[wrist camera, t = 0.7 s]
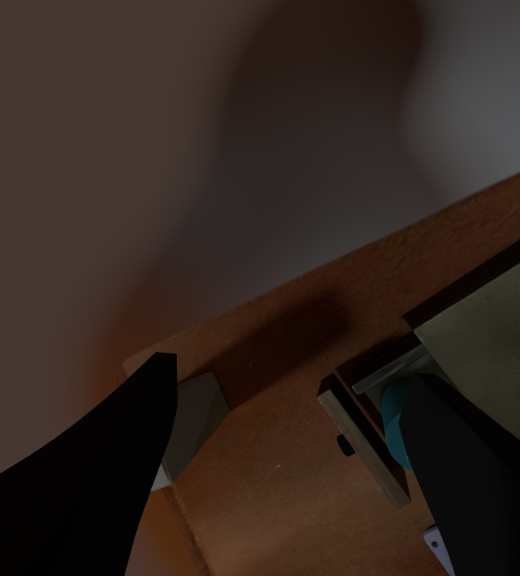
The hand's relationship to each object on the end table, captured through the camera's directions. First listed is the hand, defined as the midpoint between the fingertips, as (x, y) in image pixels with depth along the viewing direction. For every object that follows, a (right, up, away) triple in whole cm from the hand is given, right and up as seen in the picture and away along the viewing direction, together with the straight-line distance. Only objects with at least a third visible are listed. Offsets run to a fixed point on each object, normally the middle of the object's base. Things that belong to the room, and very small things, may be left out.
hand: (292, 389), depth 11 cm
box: (-7, -7, +23) cm, 25 cm away
